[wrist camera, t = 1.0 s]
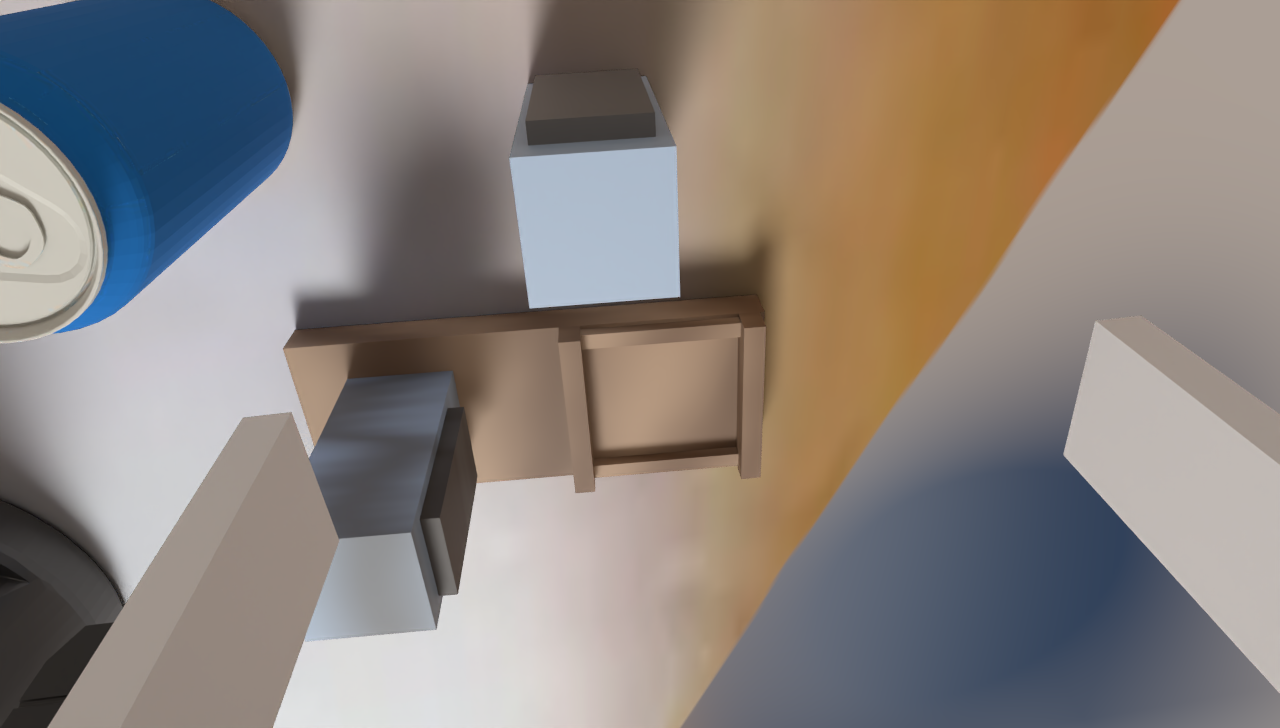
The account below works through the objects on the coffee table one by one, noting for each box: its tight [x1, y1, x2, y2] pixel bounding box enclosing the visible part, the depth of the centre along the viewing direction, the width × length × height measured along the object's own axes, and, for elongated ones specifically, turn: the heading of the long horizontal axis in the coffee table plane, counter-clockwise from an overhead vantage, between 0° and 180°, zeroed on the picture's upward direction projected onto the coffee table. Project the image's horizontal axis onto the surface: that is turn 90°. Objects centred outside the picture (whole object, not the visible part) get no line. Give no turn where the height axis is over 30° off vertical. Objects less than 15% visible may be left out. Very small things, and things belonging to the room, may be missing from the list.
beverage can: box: [0, 0, 293, 343], centre depth 21 cm, size 6×6×12 cm
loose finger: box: [509, 69, 680, 308], centre depth 24 cm, size 5×4×9 cm
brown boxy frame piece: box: [283, 295, 766, 641], centre depth 28 cm, size 18×7×10 cm, turn 93°
